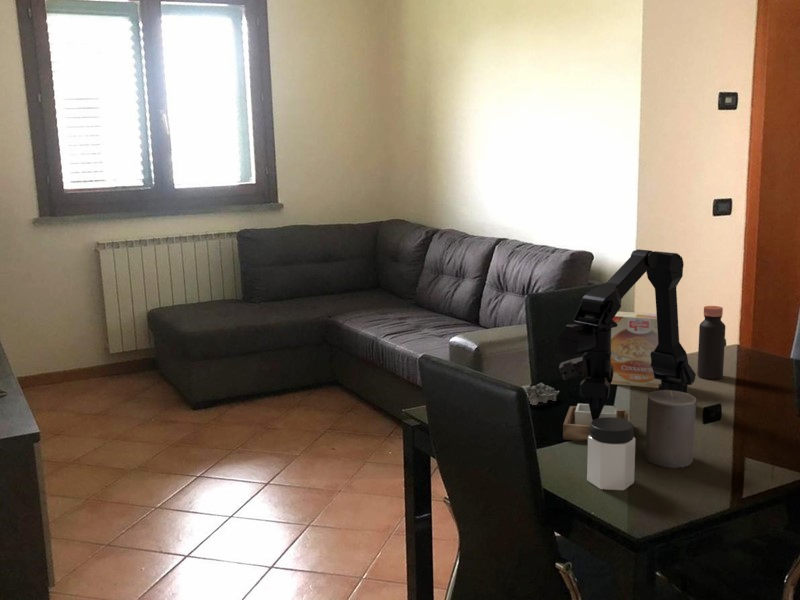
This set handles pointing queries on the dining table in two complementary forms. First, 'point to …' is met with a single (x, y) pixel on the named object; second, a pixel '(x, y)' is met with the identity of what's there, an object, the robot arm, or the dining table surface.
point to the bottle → (711, 344)
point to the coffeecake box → (634, 349)
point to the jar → (611, 453)
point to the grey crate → (585, 416)
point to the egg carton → (541, 393)
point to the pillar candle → (670, 428)
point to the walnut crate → (582, 431)
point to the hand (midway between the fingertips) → (596, 414)
